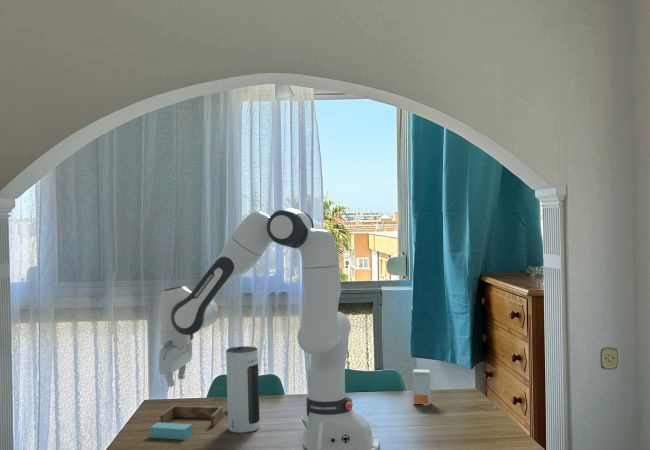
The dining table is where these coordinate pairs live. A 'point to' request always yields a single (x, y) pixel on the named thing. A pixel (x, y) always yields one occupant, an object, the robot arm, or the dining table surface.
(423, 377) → the skincare box
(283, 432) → the dining table surface
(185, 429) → the turquoise rectangular block
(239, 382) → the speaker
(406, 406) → the dining table surface
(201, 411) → the walnut box
